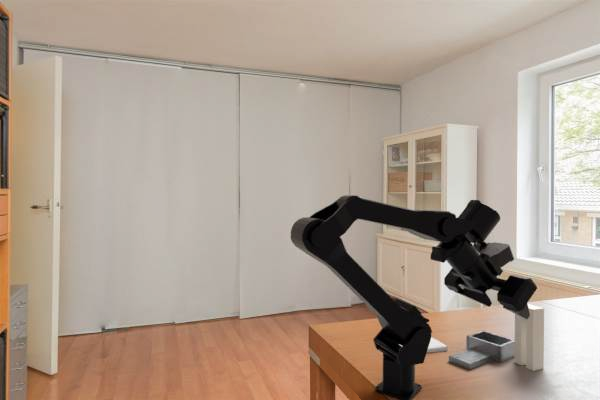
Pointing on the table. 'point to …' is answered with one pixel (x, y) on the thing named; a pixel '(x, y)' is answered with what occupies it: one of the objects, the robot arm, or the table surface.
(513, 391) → the table surface
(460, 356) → the grey tray with tab
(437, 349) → the external hard drive
